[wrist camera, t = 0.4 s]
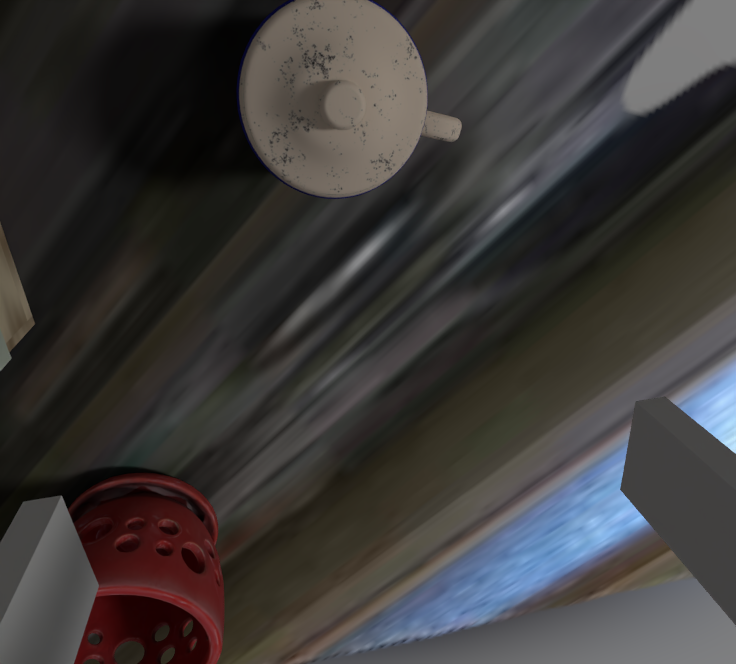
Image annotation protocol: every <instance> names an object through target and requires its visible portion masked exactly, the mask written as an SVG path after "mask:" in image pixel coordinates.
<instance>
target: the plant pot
mask: <svg viewBox="0 0 736 664" xmlns="http://www.w3.org/2000/svg"><path fill="white" fill-rule="evenodd" d="M68 512H69V514H70V517H71V519H72V522H73V524H74V526H75V529H76V531H77V534H78V536H79V539H80V541H81V543H82V546H83V548H84V551H85V553H86V555H87V558H88V560H89V563H90V565H91V568H92V570H93V572H94V575H95V577H96V580H97V582H98V584H99V587H98V590H97V593H96V596H95V600H94V603H93V606H92V609H91V612H90V615H89V618H88V621H87V624H86V628H85V631H84V634H83V637H82V640H81V643H80V646H79V649H78V652H77V655H76V659H75V662H74V664H84V662H85V661H86V660H87V659H96V660H98V661H99V662H100V664H118V663H117V662H116V661H115V658H114V654H115V651H116V649H117V648H118V647H119V646H120V645H121V644H122V643H125V642H128V641H136V642H139V643H141V644H142V645H143V647H144V650H145V653H144V657H143V659H142V660H141V661H140V662H139V663H138V664H161V657H162V655H163V653H164V652H165V651H166V650H167V649H169V648H171V647H174V648H175V654H174V656H173V658H172V659H171V660H170V661H169V662H168V663H166V664H216V663H217V661H218V659H219V657H220V654H221V650H222V643H223V632H224V586H223V577H222V572H221V566H220V561H219V556H218V553H217V550H216V547H215V545H216V541H217V537H218V522H217V517H216V514H215V512H214V509H213V507H212V505H211V504H210V503H209V501H208V500H207V499H206V498H205V497H204V496H203V495H202V494H201V493H200V492H199V491H198V490H197V489H195V488H194V487H192V486H191V485H189V484H187V483H185V482H183V481H181V480H179V479H176V478H174V477H170V476H166V475H161V474H154V473H130V474H124V475H119V476H115V477H111V478H108V479H106V480H104V481H101V482H99V483H97V484H96V485H94V486H92V487H91V488H89V489H88V490H86V491H85V492H84V493H82V494H81V495H80V496H79V497H78V498H77V499H76V500H75V501H74V502H73V503H72V504H71V506H70V507H69V509H68ZM192 620H193V629H192V631H191V632H190V633H189V634H188V635H187V636H186V637H184V634H183V633H184V629H185V627H186V625H187V624H188V623H189V622H190V621H192ZM164 625H168V626H169V628H170V631H169V634H168V636H167V637H166V638H165V639H164V640H162V641H159V642H157V641H155V633H156V631H157V630H158V629H159V628H160V627H162V626H164ZM91 633H96V634H97V635H98V636H99V637H100V642H99V643H98V644H96V645H93V644H90V643H89V642H88V636H89V634H91ZM196 641H197V643H196V646H195V648H194V649H193V650H192V647H193V645H194V643H195V642H196Z"/></svg>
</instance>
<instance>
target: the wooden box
mask: <svg viewBox="0 0 736 664" xmlns="http://www.w3.org/2000/svg"><path fill="white" fill-rule="evenodd" d="M34 325H35V322H34V320H33V317H32V314H31V311H30V308H29V305H28V302H27V299H26V296H25V293H24V290H23V287H22V285H21V282H20V279H19V276H18V273H17V270H16V267H15V264H14V261H13V258H12V255H11V253H10V250H9V247H8V244H7V241H6V238H5V235H4V232H3V229H2V226H1V223H0V329H1V332H2V335H3V337H4V340H5V343H6V345H7V348H8V351H9V352H10V351H11V350H12V349H13V348H14V347H15V345H16V344H17V343H18V342H19V341H20V340H21V339H22V338H23V337H24V336H25V334H26V333H27V332H28V331H29V330H30V329H31V328H32V327H33V326H34Z"/></svg>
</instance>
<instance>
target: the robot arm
mask: <svg viewBox="0 0 736 664" xmlns="http://www.w3.org/2000/svg"><path fill="white" fill-rule="evenodd" d="M620 490H621V491H622V492H623V493H624V494H625V496H626V497H627V498H628V499H629V500H630V502H631V503H632V504H633V505H634V506H635V507H636V509H637V510H638V511H639V512H640V513H641V514H642V516H643V517H644V518H645V519H646V520H647V521H648V523H649V524H650V525H651V526H652V527H653V529H654V530H655V531H656V532H657V533H658V534H659V536H660V537H661V538H662V539H663V540H664V541H665V543H666V544H667V545H668V546H669V547H670V549H671V550H672V551H673V552H674V553H675V554H676V556H677V557H678V558H679V559H680V560H681V561H682V563H683V564H684V565H685V566H686V567H687V568H688V570H689V571H690V572H691V573H692V574H693V576H694V577H695V578H696V579H697V580H698V581H699V583H700V584H701V585H702V586H703V587H704V588H705V590H706V591H707V592H708V593H709V594H710V596H711V597H712V598H713V599H714V600H715V601H716V603H717V604H718V605H719V606H720V607H721V608H722V610H723V611H724V612H725V613H726V614H727V615H728V617H729V618H730V619H731V620H732V621H733V623H734V624H735V625H736V454H735V453H734V452H732V451H731V450H730V449H729V448H728V447H726V446H725V445H724V444H723V443H721V442H720V441H719V440H718V439H716V438H715V437H714V436H713V435H712V434H710V433H709V432H708V431H707V430H705V429H704V428H703V427H702V426H700V425H699V424H698V423H697V422H695V421H694V420H693V419H692V418H691V417H689V416H688V415H687V414H686V413H684V412H683V411H682V410H681V409H679V408H678V407H677V406H676V405H675V404H673V403H672V402H671V401H670V400H668V399H667V398H666V397H660V398H654V399H648V400H642V401H636V403H635V408H634V414H633V420H632V426H631V431H630V437H629V443H628V449H627V454H626V460H625V466H624V472H623V477H622V483H621V489H620ZM98 587H99V584H98V582H97V580H96V577H95V575H94V572H93V570H92V568H91V565H90V563H89V560H88V558H87V555H86V553H85V551H84V548H83V546H82V543H81V541H80V539H79V536H78V534H77V531H76V529H75V526H74V524H73V522H72V519H71V517H70V514H69V512H68V509H67V507H66V505H65V502H64V500H63V497H62V495H61V496H55V497H49V498H43V499H37V500H31V501H25V502H23V503H22V505H21V507H20V508H19V510H18V512H17V514H16V516H15V517H14V519H13V521H12V523H11V524H10V526H9V528H8V530H7V532H6V533H5V535H4V537H3V539H2V541H1V542H0V664H74V662H75V659H76V655H77V652H78V649H79V646H80V643H81V640H82V637H83V634H84V631H85V628H86V624H87V621H88V618H89V615H90V612H91V609H92V606H93V603H94V600H95V596H96V593H97V590H98Z"/></svg>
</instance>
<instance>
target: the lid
mask: <svg viewBox="0 0 736 664" xmlns="http://www.w3.org/2000/svg"><path fill="white" fill-rule="evenodd" d="M10 359H11V356H10V353H9V351H8V348H7V345H6V343H5V340H4V337H3V335H2V332H1V329H0V371H1V370H2V369H3V367H4V366H5V365H6V364H7V363H8V362H9V361H10Z"/></svg>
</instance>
